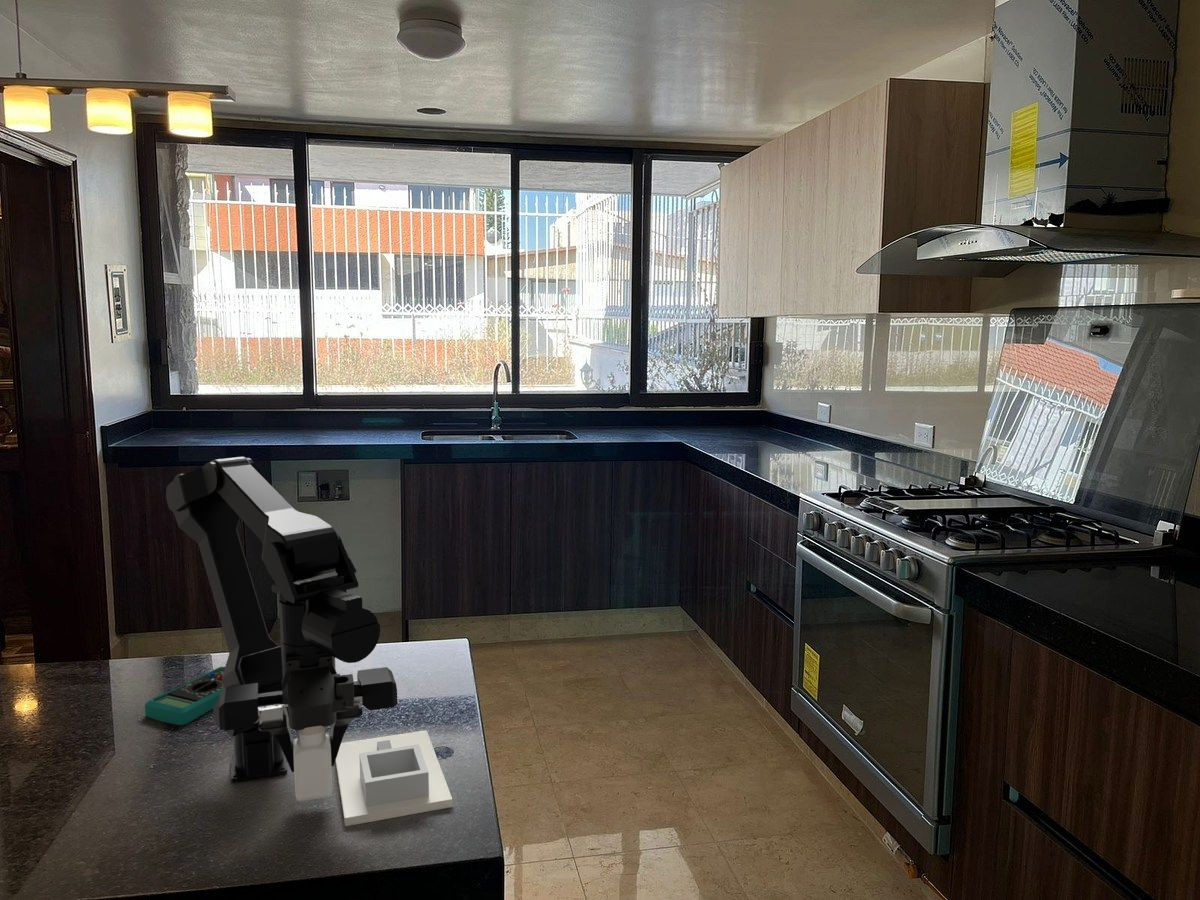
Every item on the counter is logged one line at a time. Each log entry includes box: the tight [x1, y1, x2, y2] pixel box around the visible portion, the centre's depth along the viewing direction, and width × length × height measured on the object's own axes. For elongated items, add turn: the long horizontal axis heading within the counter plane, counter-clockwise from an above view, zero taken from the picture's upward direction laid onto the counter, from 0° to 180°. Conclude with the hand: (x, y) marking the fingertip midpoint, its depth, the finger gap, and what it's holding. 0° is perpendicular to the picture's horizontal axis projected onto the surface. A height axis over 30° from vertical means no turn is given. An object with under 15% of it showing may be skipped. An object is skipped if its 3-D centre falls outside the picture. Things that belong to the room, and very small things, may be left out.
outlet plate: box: [335, 729, 454, 827], centre depth 109 cm, size 18×12×4 cm, turn 20°
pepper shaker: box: [293, 726, 333, 802], centre depth 101 cm, size 4×4×10 cm
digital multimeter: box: [144, 666, 225, 726], centre depth 130 cm, size 7×15×3 cm, turn 158°
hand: (312, 767), depth 102 cm, fingers closed on pepper shaker, 4 cm apart
